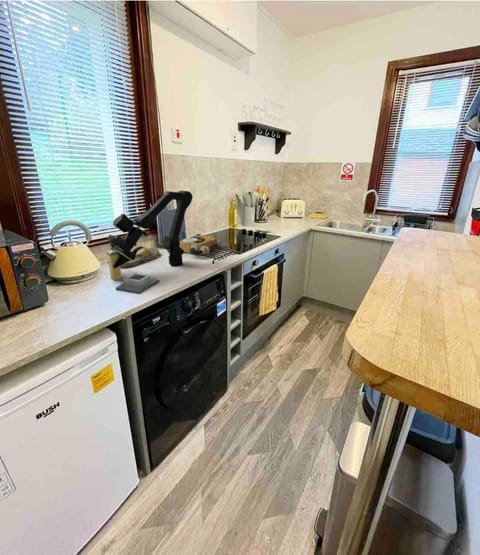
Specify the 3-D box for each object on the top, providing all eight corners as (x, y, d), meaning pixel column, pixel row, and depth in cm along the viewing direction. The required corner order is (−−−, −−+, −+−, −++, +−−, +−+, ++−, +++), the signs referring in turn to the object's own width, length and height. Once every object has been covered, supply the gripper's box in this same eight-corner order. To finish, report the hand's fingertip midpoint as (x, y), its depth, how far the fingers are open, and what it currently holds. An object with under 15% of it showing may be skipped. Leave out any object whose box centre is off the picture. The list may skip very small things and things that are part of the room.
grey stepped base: (137, 278, 129) (136, 270, 127) (159, 281, 125) (158, 273, 124) (116, 289, 117) (114, 281, 115) (139, 293, 113) (138, 284, 111)
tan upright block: (118, 276, 131) (114, 248, 126) (122, 278, 128) (117, 250, 123) (111, 277, 129) (105, 249, 124) (114, 280, 126) (109, 251, 121)
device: (227, 235, 177) (201, 246, 152) (227, 248, 180) (201, 260, 155) (198, 232, 186) (169, 241, 161) (199, 244, 189) (170, 255, 165)
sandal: (165, 255, 165) (164, 242, 162) (128, 270, 140) (126, 255, 137) (150, 252, 169) (148, 240, 166) (111, 267, 144) (109, 252, 141)
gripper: (110, 225, 129) (89, 251, 126) (124, 231, 116) (101, 261, 113) (129, 238, 137) (110, 264, 134) (144, 246, 124) (123, 274, 121)
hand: (111, 265), depth 125 cm, fingers open, 7 cm apart
